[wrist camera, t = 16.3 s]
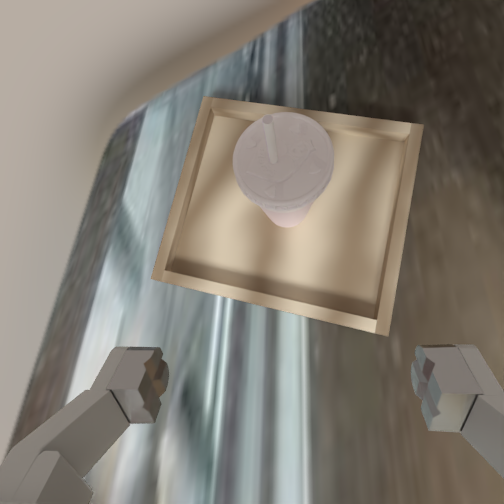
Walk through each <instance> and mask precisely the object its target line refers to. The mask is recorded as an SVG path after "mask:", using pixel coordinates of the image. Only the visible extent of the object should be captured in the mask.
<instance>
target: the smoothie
mask: <svg viewBox="0 0 504 504" xmlns="http://www.w3.org/2000/svg"><path fill="white" fill-rule="evenodd" d="M233 170H234V174H235V177H236V181H237V184H238V185H239V187H240V189H241V191H242V192H243V194H244V195H245V196H246V197H247V198H248V199H249V200H250V201H251V202H253V203H255V204H257V205H258V206H260V207H261V208H262V210H263V211H264V212H265V213H266V215H267V216H268V217H269V218H270V219H271V221H272V222H273V223H275V224H276V225H278V226H280V227H286V228H288V227H294V226H296V225H298V224H300V223H301V222H302V221H303V220H304V219H305V217H306V215H307V213H308V211H309V209H310V208H311V206H312V204H313V202H314V201H315V200H316V199H317V198H318V197H319V196H320V195H321V194H322V193H323V192H324V191H325V189H326V187H327V186H328V184H329V182H330V181H331V177H332V174H333V170H334V148H333V144H332V141H331V139H330V137H329V135H328V133H327V132H326V131H325V129H324V128H323V127H322V126H321V125H320V124H319V123H317V122H316V121H315V120H313V119H311V118H309V117H307V116H305V115H302V114H298V113H293V112H279V113H273V114H266V115H264V116H263V117H262V118H260V119H258V120H257V121H255V122H254V123H252V124H251V125H250V126H249V127H248V128H247V129H246V130H245V131H244V132H243V133H242V135H241V136H240V138H239V139H238V141H237V143H236V146H235V149H234V153H233Z"/></svg>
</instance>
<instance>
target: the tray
mask: <svg viewBox="0 0 504 504" xmlns="http://www.w3.org/2000/svg"><path fill="white" fill-rule="evenodd" d="M279 112H293V113H298V114H302V115H305V116H307V117H309V118H311V119H313V120H315V121H316V122H317V123H319V124H320V125H321V126H322V127H323V128H324V129H325V131H326V132H327V133H328V135H329V137H330V139H331V141H332V144H333V148H334V170H333V174H332V177H331V181H330V182H329V184H328V186H327V187H326V189H325V191H324V192H323V193H322V194H321V195H320V196H319V197H318V198H317V199H316V200H315V201H314V202H313V204H312V206H311V208H310V209H309V211H308V213H307V215H306V217H305V219H304V220H303V221H302V222H301V223H300V224H298V225H296V226H294V227H288V228H286V227H280V226H278V225H276V224H275V223H273V222H272V221H271V219H270V218H269V217H268V216H267V215H266V213H265V212H264V211H263V210H262V208H261V207H260V206H258V205H257V204H255V203H253V202H251V201H250V200H249V199H248V198H247V197H246V196H245V195H244V194H243V192H242V191H241V189H240V187H239V185H238V184H237V181H236V177H235V174H234V170H233V153H234V149H235V146H236V143H237V141H238V139H239V138H240V136H241V135H242V133H243V132H244V131H245V130H246V129H247V128H248V127H249V126H250V125H251V124H252V123H254V122H255V121H257V120H258V119H260V118H262V117H263V116H264V115H266V114H273V113H279ZM423 127H424V125H422V124H414V123H406V122H399V121H391V120H383V119H376V118H368V117H360V116H352V115H345V114H337V113H329V112H322V111H314V110H306V109H298V108H291V107H283V106H275V105H268V104H260V103H252V102H245V101H237V100H229V99H221V98H214V97H206V96H204V97H203V100H202V103H201V107H200V110H199V114H198V117H197V121H196V124H195V128H194V131H193V135H192V138H191V141H190V145H189V148H188V152H187V155H186V159H185V162H184V166H183V169H182V172H181V176H180V179H179V183H178V186H177V190H176V193H175V197H174V200H173V204H172V207H171V210H170V214H169V217H168V221H167V224H166V228H165V231H164V235H163V238H162V241H161V245H160V248H159V252H158V255H157V259H156V262H155V266H154V269H153V273H152V276H151V279H153V280H157V281H161V282H165V283H169V284H174V285H178V286H182V287H186V288H190V289H194V290H198V291H202V292H207V293H211V294H215V295H219V296H223V297H227V298H231V299H235V300H240V301H244V302H248V303H252V304H256V305H260V306H264V307H269V308H273V309H277V310H281V311H285V312H289V313H293V314H297V315H302V316H306V317H310V318H314V319H318V320H322V321H326V322H330V323H335V324H339V325H343V326H347V327H351V328H355V329H359V330H363V331H368V332H372V333H376V334H380V335H384V336H388V335H389V329H390V323H391V317H392V311H393V305H394V299H395V293H396V287H397V281H398V275H399V269H400V263H401V257H402V251H403V246H404V240H405V234H406V228H407V222H408V216H409V210H410V204H411V198H412V192H413V186H414V180H415V174H416V168H417V162H418V156H419V150H420V144H421V138H422V133H423Z"/></svg>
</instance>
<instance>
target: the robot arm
mask: <svg viewBox="0 0 504 504" xmlns="http://www.w3.org/2000/svg"><path fill="white" fill-rule="evenodd" d="M415 355H416V358H417V360H415V361H414V362H413V363H412V367H411V379H412V384H413V388H414V391H415V393H416V395H417V396H418V397H420V398H421V399H422V400H423V402H422V406H421V410H422V413H423V416H424V418H425V421H426V424H427V427H428V429H429V431H446V432H461V435H462V436H463V437H464V438H465V439H466V440H467V441H468V442H469V443H470V444H471V445H472V446H473V447H474V448H475V449H476V450H477V451H478V452H479V453H480V454H481V455H482V457H483V458H484V459H485V460H486V461H487V462H488V463H489V464H490V465H491V466H492V467H493V468H494V469H495V470H496V471H497V472H498V473H499V474H500V475H501V476H502V477H503V478H504V391H503V389H502V388H501V386H500V384H499V383H498V381H497V379H496V378H495V376H494V375H493V373H492V371H491V370H490V368H489V366H488V365H487V363H486V362H485V360H484V358H483V357H482V355H481V353H480V352H479V350H478V349H477V347H476V346H474V345H452V344H446V345H418V346H417V347H416V350H415ZM162 356H163V353H162V351H161V348H160V347H115V348H114V349H113V350H112V351H111V352H110V354H109V356H108V358H107V360H106V361H105V363H104V365H103V367H102V369H101V370H100V372H99V374H98V376H97V378H96V379H95V381H94V383H93V385H92V387H91V389H90V390H85V391H84V392H82V393H81V394H80V395H79V396H77V397H76V398H75V399H74V400H72V401H71V402H70V403H68V404H67V405H66V406H65V407H63V408H62V409H61V410H60V411H58V412H57V413H56V414H55V415H53V416H52V417H51V418H49V419H48V420H47V421H46V422H44V423H43V424H42V425H41V426H39V427H38V428H37V429H35V430H34V431H33V432H32V433H30V434H29V435H28V436H27V437H25V438H24V439H23V440H22V441H20V442H19V443H18V444H16V445H15V446H14V447H13V448H12V449H11V451H10V452H9V454H8V455H7V457H6V458H5V460H4V461H3V463H2V464H1V466H0V504H89V502H90V500H91V497H92V495H93V492H92V489H91V487H90V486H89V485H88V484H87V483H86V482H85V481H84V480H83V479H82V478H83V477H84V476H85V475H86V474H87V473H88V472H89V471H90V469H91V468H92V467H93V466H94V465H95V464H96V463H97V462H98V460H99V459H100V458H101V457H102V456H103V455H104V454H105V453H106V451H107V450H108V449H109V448H110V447H111V446H112V445H113V444H114V442H115V441H116V440H117V439H118V438H119V437H120V436H121V435H122V433H123V432H124V431H125V430H126V429H127V428H128V427H129V426H130V424H129V423H155V421H156V418H157V415H158V412H159V409H160V406H161V401H160V399H159V397H160V396H161V395H162V394H163V393H164V392H165V391H166V388H167V385H168V380H169V369H168V365H167V363H166V362H165V361H164V360H162V359H161V358H162Z"/></svg>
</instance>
